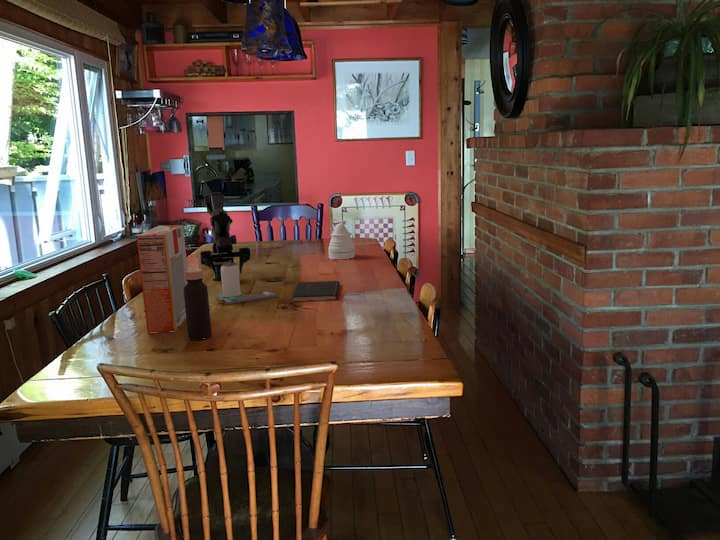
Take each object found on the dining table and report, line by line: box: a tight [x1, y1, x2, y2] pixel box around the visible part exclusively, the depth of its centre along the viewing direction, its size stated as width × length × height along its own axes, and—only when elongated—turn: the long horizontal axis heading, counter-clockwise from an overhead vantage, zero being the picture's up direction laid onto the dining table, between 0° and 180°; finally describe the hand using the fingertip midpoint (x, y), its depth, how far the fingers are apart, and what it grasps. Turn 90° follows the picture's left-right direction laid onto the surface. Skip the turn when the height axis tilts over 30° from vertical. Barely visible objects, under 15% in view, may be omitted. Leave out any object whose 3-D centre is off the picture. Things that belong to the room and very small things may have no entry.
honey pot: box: [327, 220, 356, 260], centre depth 292 cm, size 13×13×18 cm
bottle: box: [183, 268, 213, 340], centre depth 175 cm, size 7×7×20 cm
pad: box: [217, 291, 245, 302], centre depth 224 cm, size 9×9×1 cm
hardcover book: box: [291, 280, 340, 302], centre depth 225 cm, size 16×23×2 cm
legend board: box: [223, 291, 277, 305], centre depth 219 cm, size 18×6×1 cm, turn 116°
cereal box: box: [136, 224, 189, 334], centre depth 191 cm, size 23×8×30 cm, turn 2°
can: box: [221, 262, 241, 298], centre depth 223 cm, size 6×6×12 cm
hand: (228, 274), depth 227 cm, fingers open, 9 cm apart
